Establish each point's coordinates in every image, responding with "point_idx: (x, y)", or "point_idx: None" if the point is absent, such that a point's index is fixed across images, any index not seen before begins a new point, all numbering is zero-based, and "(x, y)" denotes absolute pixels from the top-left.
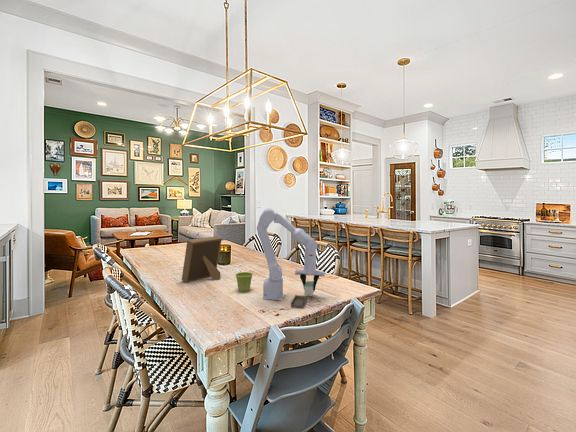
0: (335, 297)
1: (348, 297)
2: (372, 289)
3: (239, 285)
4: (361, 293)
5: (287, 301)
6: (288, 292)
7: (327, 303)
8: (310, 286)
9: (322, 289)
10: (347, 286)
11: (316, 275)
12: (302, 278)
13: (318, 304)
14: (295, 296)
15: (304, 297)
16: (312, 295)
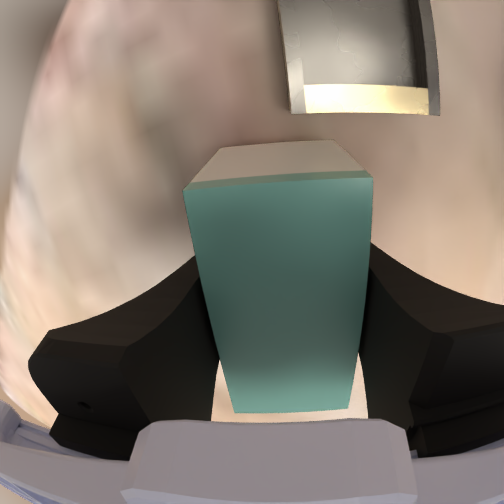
0: (69, 277)
1: (16, 296)
2: (20, 403)
3: None
4: (14, 362)
5: (470, 41)
6: (481, 285)
7: (68, 107)
8: (233, 178)
9: (221, 404)
10: None
11: (97, 448)
12: (475, 312)
13: (135, 39)
14: (428, 56)
15: (317, 84)
16: (220, 149)
